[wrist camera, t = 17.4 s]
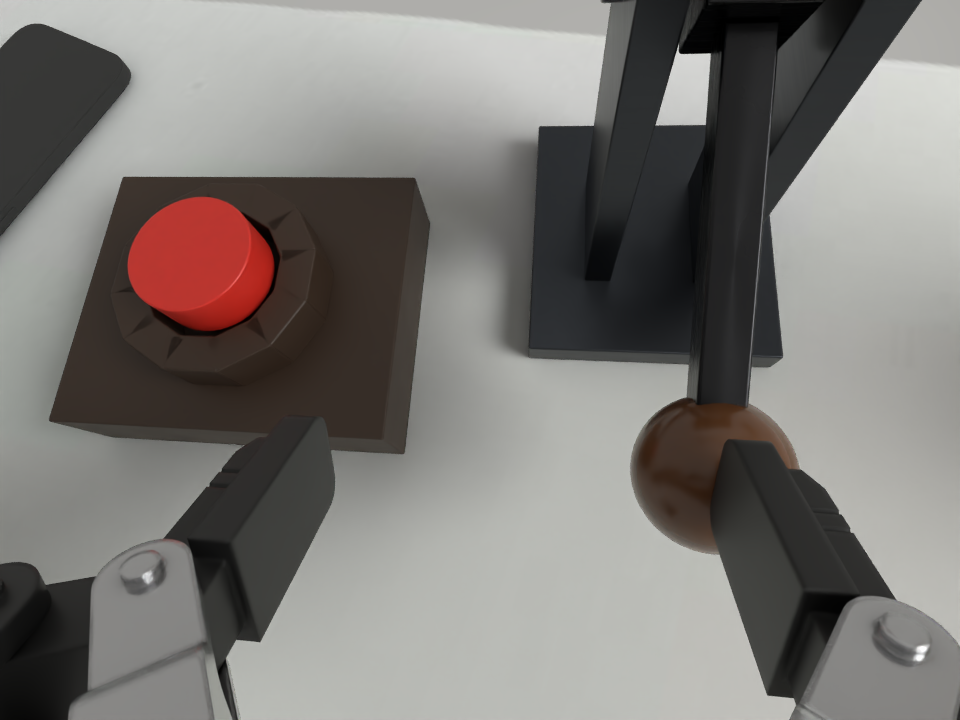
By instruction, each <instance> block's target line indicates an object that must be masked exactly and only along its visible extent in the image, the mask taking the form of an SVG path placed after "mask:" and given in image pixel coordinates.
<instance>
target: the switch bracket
mask: <svg viewBox="0 0 960 720" xmlns="http://www.w3.org/2000/svg"><path fill="white" fill-rule="evenodd" d="M921 1H922V0H826V1H825V2H824V3H823V4H822V5H821V6H820V7H819V8H818V9H817V10H816V11H815V12H814V13H813V14H812V15H811V16H810V17H809V18H808V19H807V20H806V21H805V23H804V24H803V25H802V26H801V27H800V28H799V29H798V30H797V31H796V32H795V33H794V34H793V35H792V36H791V37H790V38H789V39H788V40H787V41H786V42H785V43H784V44H783V45H782V46H781V48H780V49H779V50H778V57H777V69H776V80H775V92H774V104H773V116H772V128H771V140H770V152H769V163H768V175H767V187H766V199H765V211H764V223H763V235H762V247H761V258H760V270H759V282H758V294H757V306H756V318H755V330H754V342H753V353H752V365H751V366H752V367H771V366H772V365H774V364H775V363H776V362H778V361H779V360H780V359H782V358H783V351H782V341H781V330H780V320H779V309H778V299H777V288H776V278H775V268H774V257H773V247H772V236H771V226H770V215H769V214H770V213H771V212H772V210H773V209H774V207H775V206H776V205H777V203H778V202H779V200H780V199H781V198H782V196H783V195H784V193H785V192H786V191H787V189H788V188H789V186H790V185H791V184H792V182H793V181H794V179H795V178H796V177H797V175H798V174H799V172H800V171H801V169H802V168H803V167H804V165H805V164H806V162H807V161H808V160H809V158H810V157H811V155H812V154H813V153H814V151H815V150H816V148H817V147H818V146H819V144H820V143H821V141H822V140H823V139H824V137H825V136H826V134H827V133H828V132H829V130H830V129H831V127H832V126H833V125H834V123H835V122H836V120H837V119H838V117H839V116H840V115H841V113H842V112H843V110H844V109H845V108H846V106H847V105H848V103H849V102H850V101H851V99H852V98H853V96H854V95H855V94H856V92H857V91H858V89H859V88H860V87H861V85H862V84H863V82H864V81H865V80H866V78H867V77H868V75H869V74H870V73H871V71H872V70H873V68H874V67H875V66H876V64H877V63H878V61H879V60H880V58H881V57H882V56H883V54H884V53H885V51H886V50H887V49H888V47H889V46H890V44H891V43H892V42H893V40H894V39H895V37H896V36H897V35H898V33H899V32H900V30H901V29H902V28H903V26H904V25H905V23H906V22H907V21H908V19H909V18H910V16H911V15H912V14H913V12H914V11H915V9H916V8H917V6H918V5H919V4H920V2H921ZM601 2H602V3H611V7H610V16H609V22H608V29H607V36H606V43H605V50H604V58H603V65H602V72H601V79H600V86H599V93H598V100H597V108H596V115H595V122H594V126H540V127H539V137H538V158H537V179H536V200H535V221H534V242H533V264H532V285H531V306H530V327H529V358H542V359H568V360H594V361H621V362H647V363H673V364H689V358H690V344H691V330H692V316H693V301H694V287H695V273H696V259H697V245H698V231H699V217H700V202H701V188H702V174H703V160H704V146H705V132H706V125H669V126H655V125H656V121H657V118H658V114H659V111H660V107H661V104H662V100H663V97H664V93H665V90H666V86H667V83H668V79H669V76H670V72H671V69H672V65H673V62H674V58H675V55H676V51H677V48H678V44H679V41H680V37H681V34H682V30H683V27H684V23H685V20H686V16H687V13H688V9H689V6H690V2H691V0H601Z"/></svg>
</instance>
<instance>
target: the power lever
mask: <svg viewBox="0 0 960 720" xmlns="http://www.w3.org/2000/svg"><path fill="white" fill-rule="evenodd" d="M825 1H826V0H691V2H690V6H689V9H688V13H687V16H686V20H685V23H684V27H683V30H682V34H681V37H680V41H679V53H680V54H703V53H711V61H710V75H709V89H708V103H707V117H706V132H705V146H704V160H703V174H702V188H701V202H700V217H699V231H698V245H697V259H696V273H695V287H694V301H693V316H692V330H691V344H690V358H689V372H688V386H687V397H686V398H683V399H680V400H677V401H675V402H672V403H670V404H669V405H667V406H665V407H663V408H662V409H661V410H659V411H658V412H657V413H655V414H654V415H653V416H652V417H651V418H650V419H649V420H648V422H647V423H646V424H645V425H644V427H643V428H642V430H641V431H640V433H639V435H638V437H637V439H636V442H635V444H634V447H633V451H632V455H631V463H630V475H631V482H632V487H633V490H634V493H635V497H636V499H637V501H638V503H639V506H640V507H641V509H642V510H643V512H644V514H645V515H646V517H647V518H648V519H649V520H650V522H651V523H652V524H653V525H654V526H655V527H656V528H657V529H658V530H659V531H660V532H661V533H663V534H664V535H665V536H667V537H668V538H669V539H671V540H672V541H674V542H676V543H678V544H679V545H681V546H684V547H686V548H689V549H692V550H694V551H698V552H702V553H707V554H717V555H720V554H719V551H718V548H717V545H716V542H715V539H714V536H713V533H712V528H711V519H710V507H711V500H712V495H713V491H714V486H715V482H716V477H717V472H718V468H719V463H720V459H721V454H722V450H723V446H724V444H725V442H726V441H727V440H728V439H737V440H756V441H770V442H772V443H773V445H774V446H775V448H776V449H777V451H778V453H779V455H780V456H781V458H782V460H783V461H784V463H785V465H786V467H787V468H788V469H799V465H798V461H797V457H796V454H795V451H794V449H793V447H792V444H791V443H790V441H789V440H788V438H787V436H786V435H785V433H784V432H783V431H782V429H781V428H780V427H779V426H778V424H777V423H775V422H774V421H773V420H772V419H771V418H770V417H769V416H768V415H766V414H765V413H764V412H762V411H761V410H759V409H758V408H756V407H754V406H753V405H751V404H749V403H748V401H749V389H750V377H751V365H752V353H753V342H754V330H755V318H756V306H757V294H758V282H759V270H760V258H761V247H762V235H763V223H764V211H765V199H766V187H767V175H768V163H769V152H770V140H771V128H772V116H773V104H774V92H775V80H776V69H777V57H778V50H779V49H780V48H781V46H782V45H783V44H784V43H785V42H786V41H787V40H788V39H789V38H790V37H791V36H792V35H793V34H794V33H795V32H796V31H797V30H798V29H799V28H800V27H801V26H802V25H803V24H804V23H805V21H806V20H807V19H808V18H809V17H810V16H811V15H812V14H813V13H814V12H815V11H816V10H817V9H818V8H819V7H820V6H821V5H822V4H823V3H824V2H825Z"/></svg>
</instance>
